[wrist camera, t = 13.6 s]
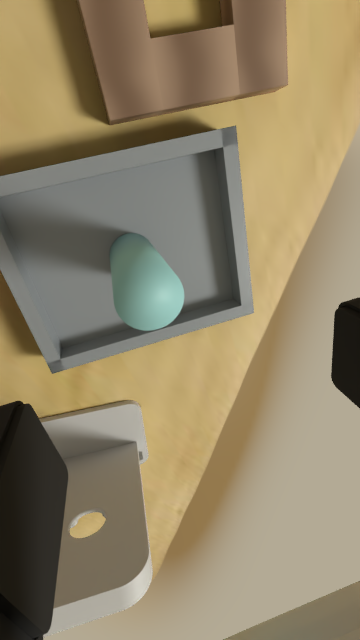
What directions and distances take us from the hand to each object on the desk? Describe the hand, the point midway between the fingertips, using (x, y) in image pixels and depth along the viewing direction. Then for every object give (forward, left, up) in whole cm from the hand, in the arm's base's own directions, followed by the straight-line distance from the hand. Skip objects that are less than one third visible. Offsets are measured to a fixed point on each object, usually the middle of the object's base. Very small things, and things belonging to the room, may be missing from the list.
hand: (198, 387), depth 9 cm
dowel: (0, 0, -20) cm, 20 cm away
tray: (0, 0, -21) cm, 21 cm away
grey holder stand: (+13, +20, -21) cm, 32 cm away
